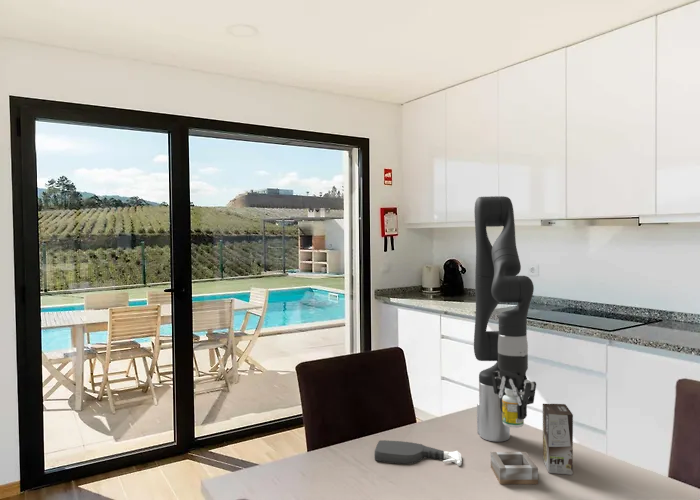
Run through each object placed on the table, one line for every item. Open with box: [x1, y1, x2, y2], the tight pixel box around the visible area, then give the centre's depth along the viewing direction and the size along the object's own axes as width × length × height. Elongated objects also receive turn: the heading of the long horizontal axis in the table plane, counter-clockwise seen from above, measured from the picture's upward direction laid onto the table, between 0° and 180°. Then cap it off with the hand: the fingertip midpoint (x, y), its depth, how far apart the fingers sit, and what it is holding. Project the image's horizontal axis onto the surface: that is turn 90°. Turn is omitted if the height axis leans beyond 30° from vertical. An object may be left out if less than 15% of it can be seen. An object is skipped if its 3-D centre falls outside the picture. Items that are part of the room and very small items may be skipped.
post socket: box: [490, 451, 539, 485], centre depth 136 cm, size 10×10×4 cm
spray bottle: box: [374, 439, 463, 467], centre depth 148 cm, size 3×11×24 cm
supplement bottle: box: [502, 387, 525, 429], centre depth 135 cm, size 5×5×10 cm
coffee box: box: [542, 403, 574, 476], centre depth 140 cm, size 9×6×16 cm
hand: (513, 414), depth 135 cm, fingers closed on supplement bottle, 5 cm apart
